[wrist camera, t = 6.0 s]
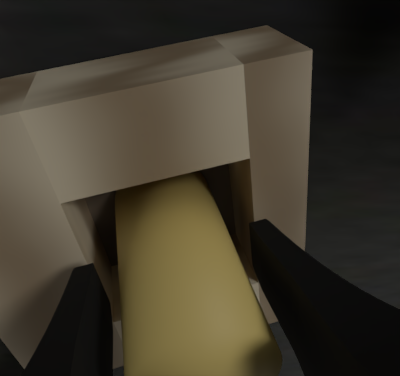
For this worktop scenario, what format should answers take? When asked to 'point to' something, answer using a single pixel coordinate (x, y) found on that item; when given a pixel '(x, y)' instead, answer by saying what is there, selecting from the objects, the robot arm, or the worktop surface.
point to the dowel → (186, 287)
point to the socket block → (144, 159)
